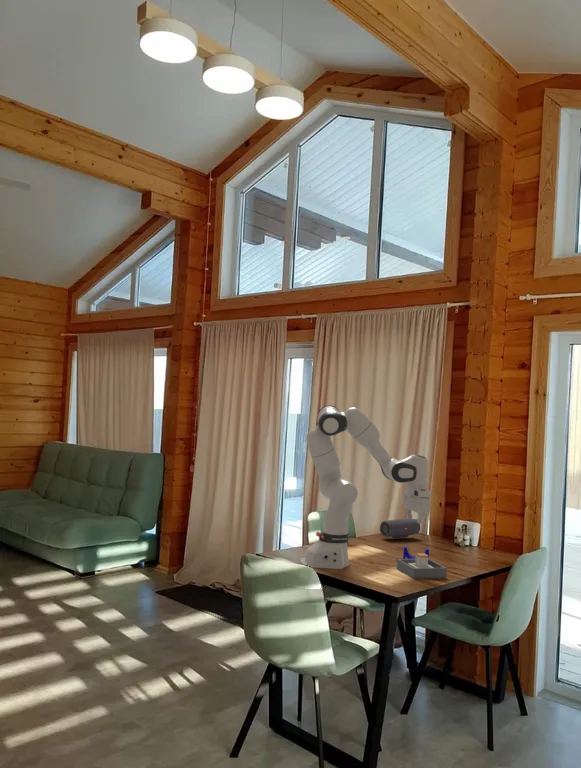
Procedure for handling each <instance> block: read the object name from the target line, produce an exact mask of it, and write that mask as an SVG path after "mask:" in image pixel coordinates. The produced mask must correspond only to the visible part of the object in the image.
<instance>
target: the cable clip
mask: <svg viewBox="0 0 581 768" xmlns="http://www.w3.org/2000/svg"><path fill="white" fill-rule="evenodd" d="M424 550H425V551H424V554H426V555H428V558H429V557H430V555H429V554H430V548H427V547H426V548H425V549H424ZM402 556H403V557H402V559H416V555H415V556H414V555H412V554H411V553H410V552H409V551H408V546H406V545H404V546H403V553H402ZM429 559H430V558H429Z"/></svg>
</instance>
